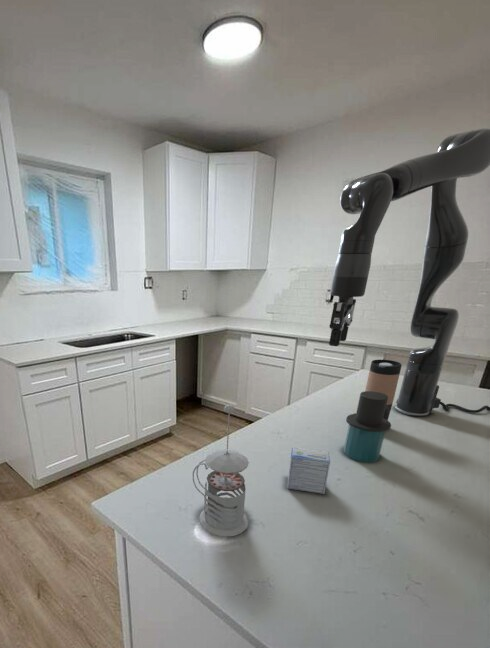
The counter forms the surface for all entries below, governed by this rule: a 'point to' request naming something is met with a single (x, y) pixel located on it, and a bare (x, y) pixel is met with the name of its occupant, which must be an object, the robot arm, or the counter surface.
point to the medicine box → (308, 470)
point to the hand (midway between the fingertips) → (337, 343)
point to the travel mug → (384, 380)
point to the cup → (363, 444)
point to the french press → (224, 512)
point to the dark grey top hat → (370, 413)
